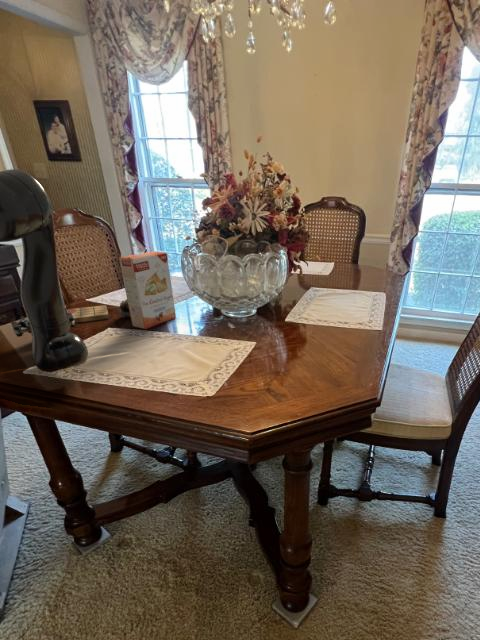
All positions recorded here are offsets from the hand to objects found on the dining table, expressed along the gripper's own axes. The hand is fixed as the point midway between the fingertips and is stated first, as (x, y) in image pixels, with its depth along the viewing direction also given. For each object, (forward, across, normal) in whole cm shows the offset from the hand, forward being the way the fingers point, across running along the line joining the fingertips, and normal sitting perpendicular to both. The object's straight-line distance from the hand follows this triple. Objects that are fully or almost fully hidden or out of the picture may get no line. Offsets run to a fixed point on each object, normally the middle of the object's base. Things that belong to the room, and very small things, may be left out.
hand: (41, 317), depth 107 cm
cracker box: (-4, -30, +6) cm, 31 cm away
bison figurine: (+4, -27, +6) cm, 28 cm away
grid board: (+16, -12, +6) cm, 21 cm away
